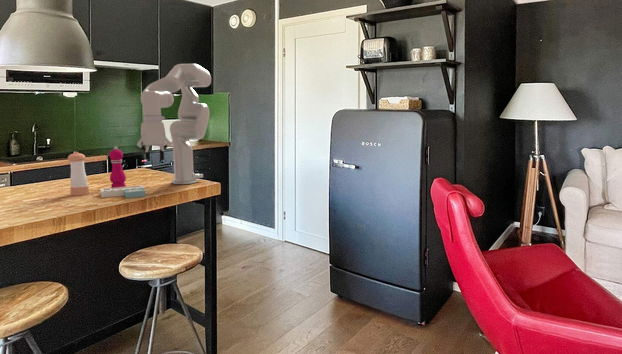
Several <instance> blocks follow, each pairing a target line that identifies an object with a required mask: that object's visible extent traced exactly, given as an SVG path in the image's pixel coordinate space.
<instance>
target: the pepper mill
mask: <svg viewBox="0 0 622 354" xmlns="http://www.w3.org/2000/svg"><path fill="white" fill-rule="evenodd" d="M108 154H109V156H108V157H109V158H110V161H111V164H112V166H111V167H112V170H111V172H110V175H109V181H110V182H111V183H112V184H111V188H118V187H127V186H126V180H127V177H126V176H127V175H126V174H125V171H124V169H123V166H122V163H123V157H124V153H123V152H122V150H120V149H119V148H118V146H113V149H112V150H110V151H109V153H108Z"/></svg>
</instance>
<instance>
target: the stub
mask: <svg viewBox="0 0 622 354" xmlns="http://www.w3.org/2000/svg"><path fill="white" fill-rule="evenodd" d="M123 196H124V198H126V199H131V198H132V199H133V198H140V197H141V198H142V197H146V189H145V190H144V189H143V188H142V189H141V188H139V189H131V190H124V195H123Z"/></svg>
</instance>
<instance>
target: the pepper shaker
mask: <svg viewBox="0 0 622 354" xmlns="http://www.w3.org/2000/svg"><path fill="white" fill-rule="evenodd" d="M67 159H68V162H70V163H69V164H70V178H69V179H70V189H69V190H70V195H71V196H84V195H88V194H90V190H89V189H90V188H89V185H88V177H87V174H86V169H85V161H86V155H85V154H83V153H80V152H78V151H74V152H73V153H71V154H69V155H68V156H67Z"/></svg>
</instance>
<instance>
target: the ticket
mask: <svg viewBox="0 0 622 354" xmlns="http://www.w3.org/2000/svg"><path fill="white" fill-rule="evenodd" d="M139 188H141V189H142V188H143V189H144V190H145V191H146V187H145V186H144V185H132V186H131V185H130V186H126V187H118V188H112V187H107V188H100V191H99V192H100V197H101V198H109V197H110V198H112V197H120V196H121V197H122V196H124V190H131V189H139Z"/></svg>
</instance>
